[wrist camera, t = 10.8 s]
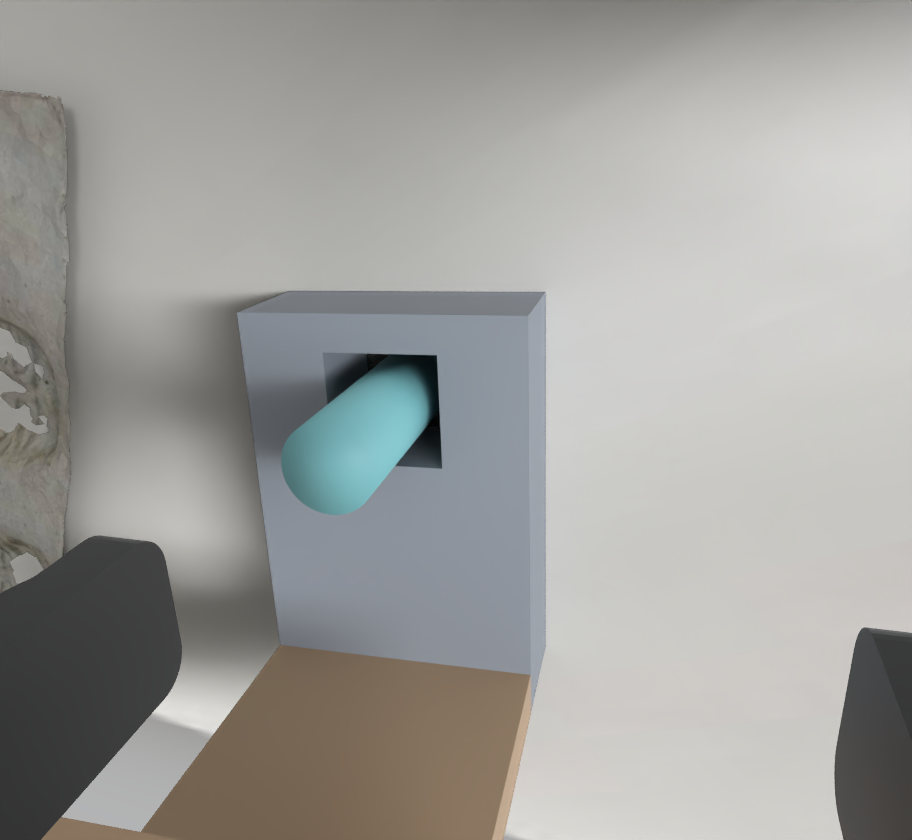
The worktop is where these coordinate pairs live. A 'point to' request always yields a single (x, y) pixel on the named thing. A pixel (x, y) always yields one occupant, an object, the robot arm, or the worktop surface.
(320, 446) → the peg
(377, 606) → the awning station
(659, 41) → the worktop surface
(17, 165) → the stone relief
